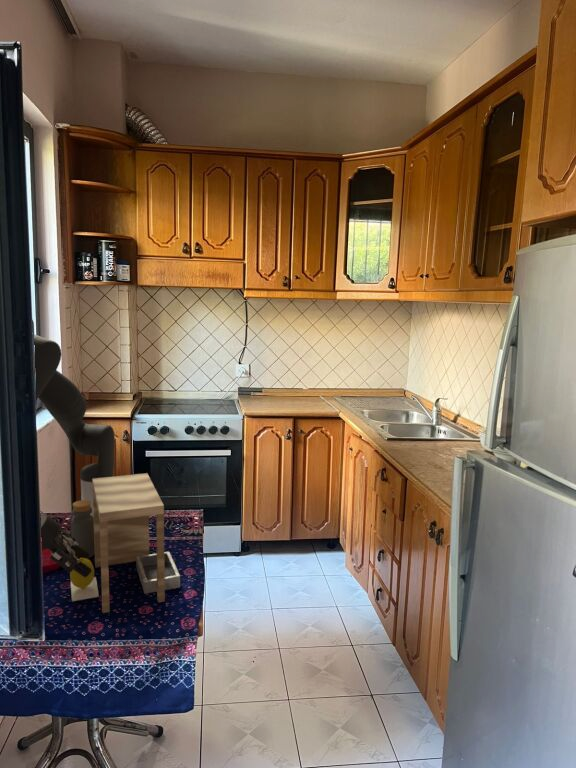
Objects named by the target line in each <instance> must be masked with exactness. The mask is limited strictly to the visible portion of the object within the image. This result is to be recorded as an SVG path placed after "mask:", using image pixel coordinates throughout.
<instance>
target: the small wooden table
mask: <svg viewBox="0 0 576 768" xmlns="http://www.w3.org/2000/svg"><path fill="white" fill-rule="evenodd" d="M92 483H93V514H94V546H95V554H94V565H95V566H94V567H95V568H99V567H100V576H101V577H100V580H101V581H100V584H101V609H102V610H101V612H102V614H106V613H110V609H111V606H110V583H109V582H110V580H109V579H110V575H109V572H110V571H109V566H113V565H121V564H126V563H131V562H136V557H137V556H143V555H150V516H155V517H156V519H155V520H156V528H155V529H156V530H155V531H156V533H155V534H156V535H155V536H156V553H157V592H156V595H157V596H156V599H157V602H158V603H164V602H165V601H166V600H165V599H166V597H165V596H166V595H165V593H166V592H165V591H166V590H165V576H164V552H165V505H164V503H163V501H162V498H161V497H160V495H159V493H158V491H157V488H155V485H154V483H153V481H152V480H151V477H150V476H149V473H148V472H146V473H135V474H124V475H118V476H117V475H116V476H114V475H113V477H104V478H94V479H92Z"/></svg>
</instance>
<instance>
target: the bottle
mask: <svg viewBox="0 0 576 768" xmlns="http://www.w3.org/2000/svg"><path fill="white" fill-rule="evenodd" d="M90 506H91V502H90V501H87V500H77V501H75V502H73V503H72V508H73V509H72V510H71V513H72V518H71V520H70V524H71V525H70V527H71V529H70V530H71V534H70V535H71V536H72V537H73V538H75V539H76V541H75V542H77V543H78V546H80V547H81V548H83V549H84V550H85V551H87V552H88V553H89V557H88V558H87V559H90V558H92V557H93V556H95V546H94V518H93V516H92V515H90V514H91V513H92V508H91V507H90ZM77 558H78V557H77ZM78 559H79V558H78Z"/></svg>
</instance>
